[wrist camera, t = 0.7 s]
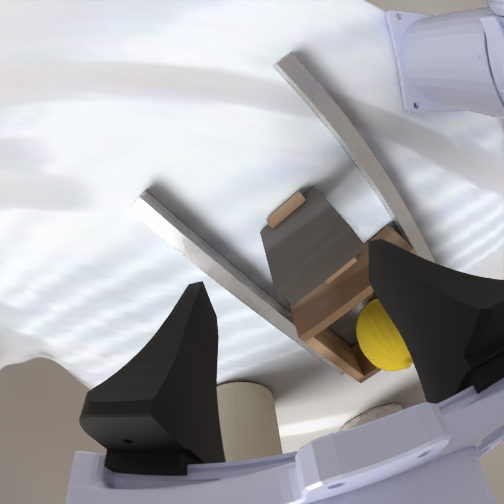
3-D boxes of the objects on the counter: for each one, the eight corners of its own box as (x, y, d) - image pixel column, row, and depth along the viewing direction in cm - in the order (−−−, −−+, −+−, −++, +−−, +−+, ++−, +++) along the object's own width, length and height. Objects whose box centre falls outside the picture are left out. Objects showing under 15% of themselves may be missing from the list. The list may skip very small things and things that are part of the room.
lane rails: (442, 285, 26) (449, 293, 25) (338, 364, 30) (341, 374, 29) (286, 55, 16) (291, 52, 14) (134, 202, 20) (129, 209, 18)
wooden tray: (428, 293, 26) (464, 339, 20) (348, 354, 29) (370, 406, 23) (339, 155, 19) (389, 185, 13) (227, 252, 22) (230, 316, 16)
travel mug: (284, 385, 31) (314, 534, 16) (254, 417, 35) (270, 543, 19) (218, 372, 29) (225, 541, 13) (196, 407, 32) (196, 544, 17)
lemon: (396, 271, 25) (441, 330, 18) (396, 314, 27) (431, 371, 20) (341, 291, 25) (376, 359, 18) (347, 332, 28) (375, 396, 21)
